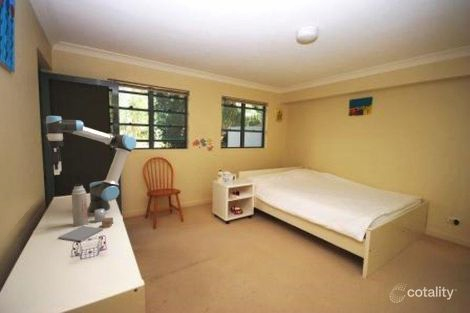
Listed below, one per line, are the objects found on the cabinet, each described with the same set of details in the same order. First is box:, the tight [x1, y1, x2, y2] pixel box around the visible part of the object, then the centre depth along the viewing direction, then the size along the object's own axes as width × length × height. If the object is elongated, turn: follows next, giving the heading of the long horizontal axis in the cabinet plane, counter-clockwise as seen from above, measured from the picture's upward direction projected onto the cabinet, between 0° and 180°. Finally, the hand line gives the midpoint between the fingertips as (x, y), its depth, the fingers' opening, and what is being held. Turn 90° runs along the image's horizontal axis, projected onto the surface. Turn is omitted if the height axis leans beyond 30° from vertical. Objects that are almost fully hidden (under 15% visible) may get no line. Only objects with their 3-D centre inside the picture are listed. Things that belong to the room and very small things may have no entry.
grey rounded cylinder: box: [94, 209, 106, 223], centre depth 154 cm, size 6×6×8 cm
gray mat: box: [58, 225, 104, 242], centre depth 134 cm, size 16×16×1 cm
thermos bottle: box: [71, 183, 89, 227], centre depth 147 cm, size 8×8×28 cm
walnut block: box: [101, 217, 114, 229], centre depth 146 cm, size 5×5×5 cm
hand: (58, 172), depth 141 cm, fingers open, 13 cm apart
